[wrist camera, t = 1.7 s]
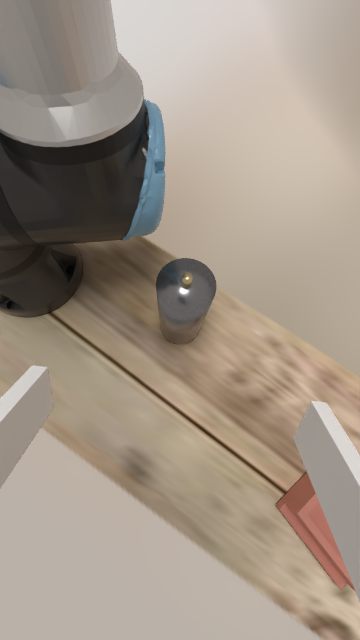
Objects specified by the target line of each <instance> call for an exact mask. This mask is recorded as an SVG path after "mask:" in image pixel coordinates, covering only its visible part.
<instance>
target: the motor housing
mask: <svg viewBox="0 0 360 640" xmlns="http://www.w3.org/2000/svg"><path fill="white" fill-rule="evenodd" d="M156 290H157V299H158V309H159V319H160V328H161V332H162V334H163V336H164V337H165V338H166V339H167V340H168V341H170V342H172V343H174V344H186V343H188V342H190V341H192V340H193V339H194V338H195V337H196V336H197V334H198V332H199V329H200V327H201V325H202V323H203V320H204V318H205V316H206V314H207V312H208V309H209V307H210V305H211V303H212V300H213V298H214V296H215V293H216V280H215V277H214V275H213V273H212V272H211V271H210V269H209V268H208V267H207V266H206V265H204V264H203V263H201V262H199V261H197V260H194V259H187V258H182V259H177V260H174V261H171V262H170V263H168V264H167V265H165V266H164V267H163V268H162V270H161V271H160V273H159V274H158V277H157V281H156Z"/></svg>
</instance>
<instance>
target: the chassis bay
mask: <svg viewBox="0 0 360 640" xmlns="http://www.w3.org/2000/svg"><path fill="white" fill-rule="evenodd" d="M276 506H277V508H278V509H279V510H280V512H281V513H282V514H283V516H284V517H285V518H286V520H287V521H288V522H289V523H290V525H291V526H292V527H293V529H294V530H295V531H296V533H297V534H298V535H299V537H300V538H301V539H302V541H303V542H304V543H305V544H306V546H307V547H308V548H309V550H310V551H311V552H312V554H313V555H314V556H315V558H316V559H317V560H318V562H319V563H320V564H321V565H322V567H323V568H324V569H325V571H326V572H327V573H328V575H329V576H330V577H331V579H332V580H333V581H334V583H335V584H336V585H337V586H338V587H339V588H340V589H341V590H342V589H343V587H344V586H345V585H346V584H348V585H349V586H350V587H351V588H352V589H353V590H354V591H355V589H354V586H353V584H352V581H351V579H350V576H349V574H348V572H347V569H346V567H345V564H344V562H343V559H342V557H341V554H340V552H339V549H338V547H337V544H336V542H335V540H334V537H333V535H332V532H331V530H330V527H329V525H328V522H327V520H326V517H325V515H324V513H323V510H322V508H321V505H320V503H319V500H318V498H317V495H316V493H315V490H314V488H313V486H312V483H311V481H310V478H309V476H308V473H307V472H306V473H305V474H304V475H303V476H302V478H301V479H300V480H299V481H298V482H297V483H296V484H295V485H294V486H293V487H292V488H291V489H290V490H289V491H288V492H287V493H286V494H285V495H284V497H283V498H282V499H281V500H280V501H279V502H278V503H277V504H276ZM355 592H356V591H355Z"/></svg>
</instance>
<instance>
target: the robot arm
mask: <svg viewBox="0 0 360 640" xmlns="http://www.w3.org/2000/svg"><path fill="white" fill-rule="evenodd" d="M164 166H165V136H164V126H163V120H162V115H161V111H160V109H159V107H158V106H157V105H156V104H154V103H150V101H146V100H144V93H143V85H142V81H141V79H140V76H139V75H138V73H137V72H136V70H135V69H134V68H133V67H132V66H131V65H130V64H129V63H128V62H127V60H126V59H125V58H124V57H123V56H122V55H121V54H120V53H119V52H118V49H117V44H116V37H115V29H114V22H113V15H112V8H111V2H110V0H0V310H2V311H3V312H6V313H8V314H11V315H14V316H20V317H33V316H39V315H43V314H46V313H49V312H51V311H53V310H55V309H57V308H59V307H60V306H61V305H63V304H64V303H65V302H67V301H68V300H69V299H70V298H71V296H72V295H73V294H74V293H75V291H76V290H77V288H78V286H79V284H80V281H81V278H82V274H83V263H82V258H81V255H80V253H79V251H78V249H77V248H76V246H75V245H74V243H85V242H99V241H112V240H127V239H128V238H132V237H138V236H144V235H148V234H151V233H152V232H154V231H155V230H156V228H157V227H158V225H159V223H160V220H161V216H162V210H163V204H164V192H165V172H164ZM53 408H54V406H53V399H52V393H51V386H50V380H49V373H48V367H42V366H34V365H32V366H31V367H30V368H29V369H28V370H27V371H26V372H25V373H24V374H23V375H22V376H21V377H20V378H19V379H18V380H17V382H16V383H15V384H14V385H13V386H12V387H11V388H10V389H9V390H8V391H7V392H6V393H5V394H4V395H3V396H2V397H1V398H0V488H1V486H2V485H3V483H4V482H5V480H6V479H7V477H8V476H9V474H10V473H11V471H12V470H13V468H14V467H15V465H16V464H17V462H18V461H19V459H20V458H21V456H22V455H23V453H24V452H25V450H26V449H27V447H28V446H29V444H30V443H31V441H32V440H33V438H34V437H35V435H36V434H37V432H38V431H39V429H40V428H41V426H42V425H43V423H44V422H45V420H46V419H47V417H48V416H49V414H50V413H51V411H52V410H53ZM293 439H294V441H295V444H296V446H297V449H298V451H299V454H300V456H301V458H302V461H303V463H304V466H305V468H306V471H307V473H308V476H309V478H310V481H311V483H312V486H313V488H314V490H315V493H316V495H317V498H318V500H319V503H320V505H321V508H322V510H323V513H324V515H325V517H326V520H327V522H328V525H329V527H330V530H331V532H332V535H333V537H334V540H335V542H336V544H337V547H338V549H339V552H340V554H341V557H342V559H343V562H344V564H345V567H346V569H347V572H348V574H349V576H350V579H351V581H352V584H353V586H354V589H355V591H356V594H357V596H358V599H359V601H360V455H359V453H358V452H357V450H356V448H355V447H354V445H353V444H352V442H351V441H350V439H349V437H348V436H347V434H346V433H345V431H344V430H343V428H342V426H341V425H340V423H339V422H338V420H337V419H336V417H335V415H334V414H333V412H332V411H331V409H330V408H329V406H328V405H327V403H324V402H316V401H311V402H310V404H309V406H308V408H307V411H306V413H305V415H304V417H303V419H302V421H301V423H300V425H299V427H298V430H297V432H296V434H295V436H294V438H293Z"/></svg>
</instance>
